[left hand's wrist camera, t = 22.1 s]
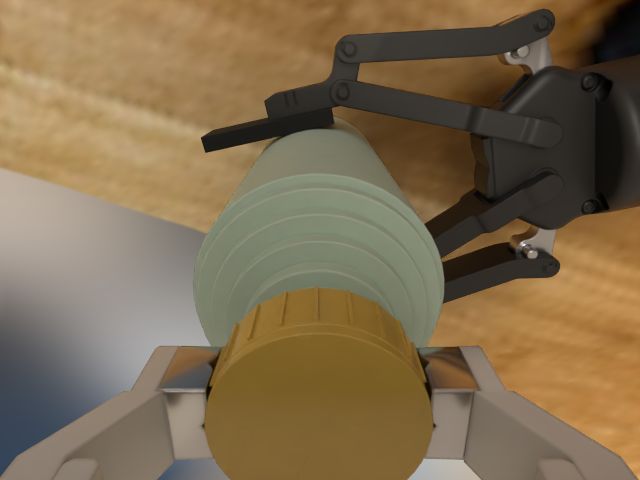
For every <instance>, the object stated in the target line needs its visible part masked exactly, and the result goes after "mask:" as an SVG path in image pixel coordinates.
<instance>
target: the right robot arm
mask: <svg viewBox="0 0 640 480" xmlns="http://www.w3.org/2000/svg"><path fill="white" fill-rule="evenodd" d="M554 25H555V17H554V15H553V13H552V12H551V11H550V10H547V9H541V10H537V11H532V12H528V13H524V14H521V15H517V16H514V17H512V18H510V19H507V20H505V21H503V22H501V23H498V24H496V25H494V26H492V27H480V28H462V29H445V30H427V31H409V32H392V33H374V34H357V35H347V36H344V37H343V38H341V39H340V40H339V41H338V43H337V44H336V46H335V53H334V61H333V68H332V72H331V74H330V76H329V77H328V79H327V80H325V81H324V82H321V83H317V84H313V85H308V86H304V87H300V88H295V89H291V90H287V91H282V92H278V93H275V94H274V95H272V96H271V97H269V98H268V99H267V100H265V101H264V102H265V106H266V110H267V114H268V118H265V119H260V120H256V121H251V122H247V123H242V124H238V125H234V126H229V127H225V128H220V129H216V130H213V131H211V132H209V133H208V134H206V135H204V136H203V137H201V140H202V143H203V147H204V150H205V153H207V152H211V151H216V150H220V149H225V148H229V147H234V146H238V145H243V144H247V143H252V142H256V141H261V140H265V139H270V138H274V137H279V136H283V135H288V134H292V133H297V132H301V131H305V130H310V129H315V128H319V127H324V126H328V125H333V124H335V123H334V118H333V113H332V108H333V107H338V106H343V107H348V108H354V109H359V110H364V111H369V112H374V113H379V114H384V115H389V116H394V117H399V118H404V119H409V120H414V121H419V122H424V123H429V124H434V125H439V126H444V127H449V128H454V129H459V130H464V131H468V132H472V133H471V134H470V138H471V148H472V150H473V153H474V156H475V158H476V167H475V172H474V181H475V188H474V189H473V190H471V191H469V192H468V193H466V194H465V195H463V196H462V197H461V199H460V201H459V202H458V203H457V204H455V205H454V206H452V207H451V208H449V209H447V210H446V211H444V212H443V213H441V214H439V215H438V216H436V217H435V218H433V219H432V220H430V221H428V222H427V223H425V224H424V225H425V226H426V228H427V229H428V231H429V232H430V234H431V235H432V238H433V240H434V242H435V244H436V246H437V248H438V251H439V255H440V258H443V257H444V256H446V255H447V254H449V253H451V252H452V251H454V250H456V249H457V248H459V247H461V246H462V245H464V244H466V243H467V242H469V241H471V240H472V239H474V238H475V237H477V236H479V235H480V234H482V233H491V232H494V231H496V230H497V229H499V228H501V227H502V226H504V225H506V224H507V223H509V222H511V221H512V220H514V219H516V218H518V219H520V220H523V221H525V222H527V223H529V224H531V226H530V228H529V229H528V230H527V231H526V232H524V233H522V234H518V235H513V236H512V237H511V238H510V242H506V243H499V244H495V245H491V246H488V247H485V248H482V249H479V250H476V251H474V252H471V253H468V254H465V255H462V256H459V257H456V258H453V259H451V260H448V261H445V262H442V266H443V273H444V297H443V303H446V302H449V301H452V300H455V299H458V298H461V297H464V296H467V295H470V294H473V293H475V292H478V291H481V290H484V289H487V288H490V287H493V286H496V285H499V284H502V283H505V282H508V281H511V280H514V279H518V278H548V277H552V276H554V275H556V274H557V273H558V271H559V269H560V263H559V261H558V260H557V259H556V258H554V257H553V256H552V252H553V246H554V241H555V235H556V229H559V228H561V227H563V226H565V225H566V224H567V223H569V222H570V221H572V220H573V219H575V218H577V217H580V216H582V215H588V214H598V213H606V212H612V211H617V210H622V209H627V208H632V207H637V206H640V55H635V56H631V57H626V58H622V59H618V60H613V61H609V62H604V63H600V64H595V65H591V66H586V67H582V68H577V69H572V70H569V69H565V68H562V67H560V66H553V62H552V57H551V53H550V48H549V43H548V39H547V35H549V34H550V33H551V31H552V30H553V28H554ZM491 55H497V57H498V60H499V61H500V62H501V63H502V64H504V65H519V66H521V67H522V68H523V69H524V72H525V73H524V74H523V75H522V76H521V77H520V78H519V79H518V80H517V81H516V82H515V83H514V84H513V85H512V86H511V87H510V88H509V89H508V90H507V91H506V92H505V94H504V95H503V96H502V97H501V98H500V99H499V100H498V101H497V102H496V103H495V104H494V105H493V106H492V107H491V108H488V107H483V106H478V105H474V104H469V103H464V102H458V101H453V100H448V99H443V98H438V97H433V96H428V95H423V94H418V93H414V92H409V91H404V90H399V89H394V88H389V87H384V86H379V85H374V84H369V83H364V82H359V81H357V77H358V70H359V64H360V63H367V62H385V61H403V60H421V59H439V58H457V57H475V56H491ZM443 303H442V304H443Z"/></svg>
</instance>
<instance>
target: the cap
mask: <svg viewBox="0 0 640 480" xmlns="http://www.w3.org/2000/svg"><path fill="white" fill-rule="evenodd" d="M425 382H427V380H426V377H425V374H424V371H423V368H422V365H421V362H420V359H419V356H418V353H417V351H416V348H415V345H414V342H410V340H409V338H408V336H407V334H406V332H405V330H404V329H403V328H402V324H401V321H400V320H399V319H398V320H396V319H395V318H394V317H393V316H392V315H391V314H390V313H389V312H387V311H386V310H385V309H384V308H382V307H381V306H380V305H379V303H378V302H376V301H375V303H374V302H373V301H371V300H369V299H367V298H365V297H362V296H360V295H358V294H355V293H351V292H350V291H349V290H346V291H344V290H338V289H332V288H318V287H314V288H307V289H299V290H294V291H290V292H287V291H285V292H283V294H281V295H277V296H275V297H273V298H271V299H269V300H267V301H265V302H263V303H262V304H260V305H259V304H257V305H255V308H254V309H253V310H252V311H251V312H249V313H248V314H247V315H246V316H245V317H244V318H243V319H242V320H241V321H240V322H239V324H238V323H236V324H235V325H234V328H233V331H232V334H231V335H230V338H229V340H228V342H227V344H226V346H224V345H223V347H222V350H221V353H220V356H219V359H218V362H217V364H216V367H215V370H214V373H213V376H212V379H211V382H210V384H209V386H212V388H211V391H210V394H209V397H208V401H207V404H206V408H205V416H204V427H205V435H206V439H207V443H208V446H209V449H210V451H211V454H212V456H213V457H214V459H215V461H216V463H217V464H218V466H219V467H220V468H221V469H222V471H223V472H224V473H225V474H226V476H227V477H229V478H230V479H231V480H407V479H408V478H409V477H410V476H411V475H412V474H413V473H414V472H415V471H416V469H417V468H418V467H419V465H420V464H421V462H422V460H423V459H424V457H425V455H426V453H427V451H428V448H429V445H430V442H431V438H432V432H433V411H432V405H431V402H430V399H429V396H428V393H427V390H426V387H425V384H424V383H425Z"/></svg>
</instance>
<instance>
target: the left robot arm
mask: <svg viewBox="0 0 640 480" xmlns="http://www.w3.org/2000/svg"><path fill="white" fill-rule="evenodd" d="M415 348H416V351H417V353H418V356H419V359H420V362H421V365H422V368H423V371H424V374H425V377H426V380H427V382H425V383H424V384H425V387H426V390H427V393H428V396H429V399H430V402H431V405H432V411H433V432H432V438H431V442H430V445H429V448H428V451H427V453H426V455H425V457H424V458H425V459H458V460H464V462H465V463H466V464H467V465H468V466H469V467H470V468H471V469H472V470H473V472H474V473H475V474H476V475H477V476H478V477H479V478H480V479H481V480H638V478H637V477H636V476H635V475H634V473H633V472H632V471H631V469H630V468H629V467H628V465H627V464H626V463H625V462H624V460H623V459H622V458H621V457H620V456H619V455H617V454H615V453H614V452H612V451H610V450H609V449H607V448H606V447H604V446H602V445H601V444H599V443H597V442H596V441H594V440H592V439H591V438H589V437H588V436H586V435H584V434H583V433H581V432H579V431H578V430H576V429H575V428H573V427H571V426H570V425H568V424H566V423H565V422H563V421H561V420H560V419H558V418H557V417H555V416H553V415H552V414H550V413H548V412H547V411H545V410H544V409H542V408H540V407H539V406H537V405H535V404H534V403H532V402H530V401H529V400H527V399H526V398H524V397H522V396H521V395H519V394H517V393H516V392H514V391H507V390H506V388H505V387H504V385H503V383H502V382H501V380H500V378H499V377H498V375H497V373H496V371H495V370H494V368H493V366H492V365H491V363H490V361H489V360H488V358H487V356H486V354H485V353H484V351H483V349H482V348H481V347H479V346H457V347H415ZM221 350H222V347H202V346H181V347H180V346H159V347H157V348H156V349H155V350H154V352H153V354H152V356H151V357H150V359H149V361H148V362H147V364H146V366H145V367H144V369H143V371H142V372H141V374H140V376H139V377H138V379H137V381H136V383H135V384H134V386H133V388H132V389H131V391H123V392H122V393H120V394H118V395H117V396H115V397H114V398H112V399H110V400H109V401H107V402H105V403H104V404H102V405H100V406H99V407H97V408H95V409H94V410H92V411H91V412H89V413H87V414H86V415H84V416H82V417H81V418H79V419H77V420H76V421H74V422H72V423H71V424H69V425H68V426H66V427H64V428H62V429H61V430H59V431H58V432H56V433H54V434H53V435H51V436H49V437H48V438H46V439H44V440H43V441H41V442H39V443H38V444H36V445H34V446H33V447H31V448H30V449H28V450H26V451H25V452H23V453H21V454H20V455H18V456H17V457H16V458H15V459H14V460H13V462H12V463H11V464H10V466H9V467H8V468H7V469H6V471H5V472H4V473H3V475H2V476H1V477H0V480H157V478H159V476H160V475H161V474H162V473H163V472H164V471H165V470H166V469H167V468H168V467H169V466H170V465H171V464H172V463H173V462H174V460H180V459H213V456H212V454H211V451H210V449H209V446H208V443H207V439H206V435H205V427H204V416H205V408H206V404H207V401H208V397H209V394H210V391H211V388H212V386H209V384H210V382H211V379H212V376H213V373H214V370H215V367H216V364H217V362H218V359H219V356H220V353H221Z"/></svg>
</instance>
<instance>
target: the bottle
mask: <svg viewBox="0 0 640 480" xmlns="http://www.w3.org/2000/svg"><path fill="white" fill-rule="evenodd" d="M333 118H334V123H335V124H333V125H328V126H324V127H319V128H315V129H310V130H305V131H301V132H297V133H292V134H288V135H283V136H279V137H274V138H272V139H271V140H270V142H269V143H268V145H267V146H266V148H265V149H264V150H263V152H262V153H261V155H260V156H259V158H258V159H257V161H256V162H255V164H254V165H253V167H252V168H251V170H250V171H249V172H248V174H247V175H246V177H245V178H244V180H243V181H242V183H241V184H240V186H239V187H238V189H237V190H236V192H235V193H234V194H233V196H232V197H231V199H230V200H229V202H228V203H227V205H226V206H225V208H224V209H223V211H222V212H221V214H220V215H219V216H218V218H217V219H216V221H215V222H214V224H213V225H212V227H211V228H210V230H209V232H208V234H207V235H206V237H205V239H204V241H203V243H202V246H201V248H200V251H199V253H198V256H197V261H196V265H195V269H194V280H193V289H194V301H195V305H196V310H197V314H198V317H199V319H200V322H201V325H202V327H203V330H204V332H205V335H206V337H207V339H208V341H209V343H210V345H211V346H212V347H223V345H224V346H226V344H227V342H228V340H229V338H230V335H231V334H232V331H233V328H234V325H235V324H236V323H238V324H239V322H240V321H241V320H242V319H243V318H244V317H245V316H246V315H247V314H248V313H249V312H251V311H252V310H253V309H254V308H255V305H257V304H259V305H260V304H262V303H263V302H265V301H267V300H269V299H271V298H273V297H275V296H277V295H281V294H283V292H285V291H287V292H290V291H294V290H299V289H307V288H314V287H318V288H332V289H338V290H344V291H346V290H349V291H350V292H351V293H355V294H358V295H360V296H362V297H365V298H367V299H369V300H371V301H373V302H374V303H375V301H376V302H378V303H379V305H380V306H381V307H382V308H384V309H385V310H386V311H387V312H389V313H390V314H391V315H392V316H393V317H394V318H395V319H396V320H398V319H399V320H400V321H401V324H402V328H403V329H404V330H405V332H406V334H407V336H408V338H409V340H410V342H414V345H415V347H426V346H427V344H428V342H429V340H430V338H431V336H432V334H433V332H434V329H435V326H436V324H437V322H438V319H439V315H440V312H441V309H442V303H443V297H444V273H443V266H442V262H441V258H440V255H439V251H438V248H437V246H436V244H435V242H434V240H433V238H432V235H431V234H430V232H429V231H428V229H427V228H426V226H425V225H424V223H423V222H422V220H421V219H420V217H419V216H418V214H417V213H416V211H415V210H414V208H413V207H412V205H411V204H410V203H409V201H408V200H407V198H406V197H405V195H404V194H403V192H402V191H401V189H400V188H399V186H398V185H397V183H396V182H395V180H394V179H393V178H392V176H391V175H390V173H389V172H388V170H387V169H386V167H385V166H384V164H383V163H382V161H381V160H380V158H379V157H378V155H377V154H376V153H375V151H374V150H373V148H372V147H371V145H370V144H369V142H368V141H367V139H366V138H365V137H364V135H363V134H362V133H361V132H360V131H359V130H358V129H357V128H356V127H354V126H353V125H352V124H350V123H348V122H347V121H345V120H343V119H340V118H337V117H334V116H333Z"/></svg>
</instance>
